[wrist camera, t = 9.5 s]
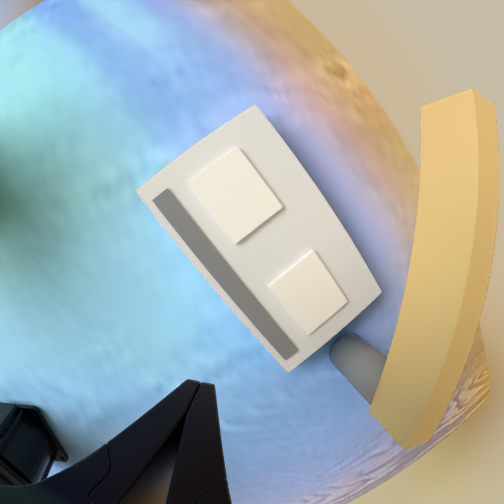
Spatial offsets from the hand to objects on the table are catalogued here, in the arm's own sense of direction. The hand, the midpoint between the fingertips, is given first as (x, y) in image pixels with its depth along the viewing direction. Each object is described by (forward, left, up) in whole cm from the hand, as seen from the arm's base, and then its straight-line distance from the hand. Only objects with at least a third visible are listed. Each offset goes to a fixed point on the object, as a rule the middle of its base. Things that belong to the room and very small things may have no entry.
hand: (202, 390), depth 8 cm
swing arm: (+1, -12, -10) cm, 15 cm away
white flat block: (+3, -5, -10) cm, 11 cm away
